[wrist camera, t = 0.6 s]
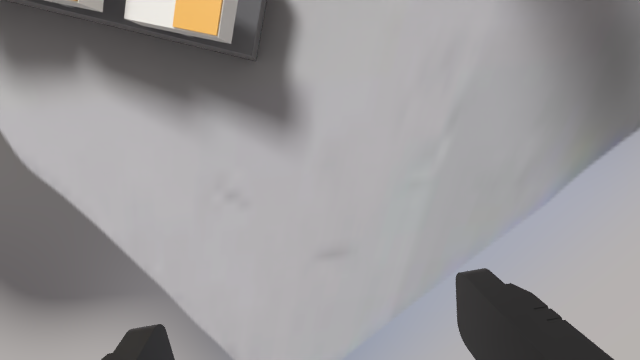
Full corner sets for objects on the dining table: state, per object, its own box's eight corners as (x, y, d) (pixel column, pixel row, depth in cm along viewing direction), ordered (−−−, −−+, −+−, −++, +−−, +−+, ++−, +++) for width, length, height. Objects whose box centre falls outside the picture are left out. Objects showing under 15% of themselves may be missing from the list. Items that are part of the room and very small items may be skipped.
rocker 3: (148, -27, 27) (128, -39, 25) (239, -11, 26) (226, -23, 24) (142, 25, 28) (122, 17, 26) (231, 44, 27) (217, 37, 25)
